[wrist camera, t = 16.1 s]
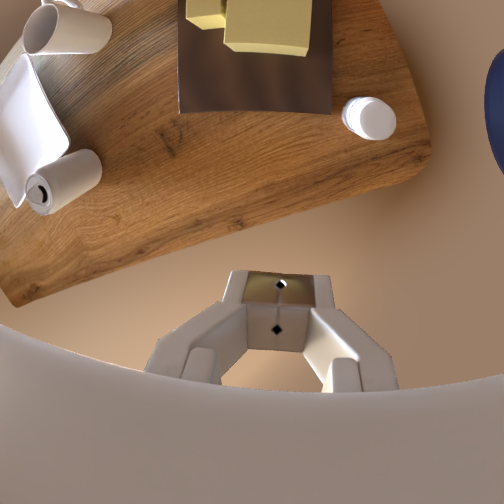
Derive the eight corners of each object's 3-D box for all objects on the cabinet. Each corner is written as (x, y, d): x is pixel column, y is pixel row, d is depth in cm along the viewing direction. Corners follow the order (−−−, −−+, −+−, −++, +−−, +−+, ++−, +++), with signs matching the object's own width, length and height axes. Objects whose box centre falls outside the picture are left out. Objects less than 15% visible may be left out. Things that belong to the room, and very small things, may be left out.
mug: (117, 43, 28) (61, 36, 18) (81, 63, 30) (24, 65, 19) (109, -9, 24) (57, -26, 13) (74, 12, 25) (20, 4, 15)
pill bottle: (384, 112, 30) (409, 119, 23) (362, 140, 32) (382, 153, 25) (354, 88, 29) (373, 87, 22) (333, 117, 32) (345, 123, 24)
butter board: (327, -26, 21) (329, -32, 20) (328, 114, 31) (331, 115, 30) (184, -21, 23) (179, -26, 21) (184, 112, 33) (178, 114, 32)
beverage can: (108, 184, 39) (59, 217, 29) (78, 188, 40) (30, 219, 30) (100, 144, 36) (46, 167, 26) (71, 151, 37) (18, 175, 27)
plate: (83, 140, 36) (70, 145, 33) (26, 203, 43) (15, 211, 40) (37, 48, 28) (24, 48, 25) (-12, 124, 35) (-24, 128, 32)
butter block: (309, 5, 23) (312, -12, 18) (305, 56, 27) (309, 48, 21) (238, 0, 23) (228, -16, 18) (234, 51, 27) (223, 43, 22)
